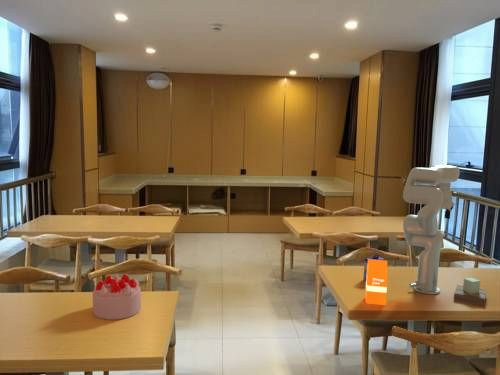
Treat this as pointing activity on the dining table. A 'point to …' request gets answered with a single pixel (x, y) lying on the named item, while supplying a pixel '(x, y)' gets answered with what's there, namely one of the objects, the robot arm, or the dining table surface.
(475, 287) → the sage block
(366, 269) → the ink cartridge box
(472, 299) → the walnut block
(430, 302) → the dining table surface
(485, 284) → the dining table surface
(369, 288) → the orange juice
